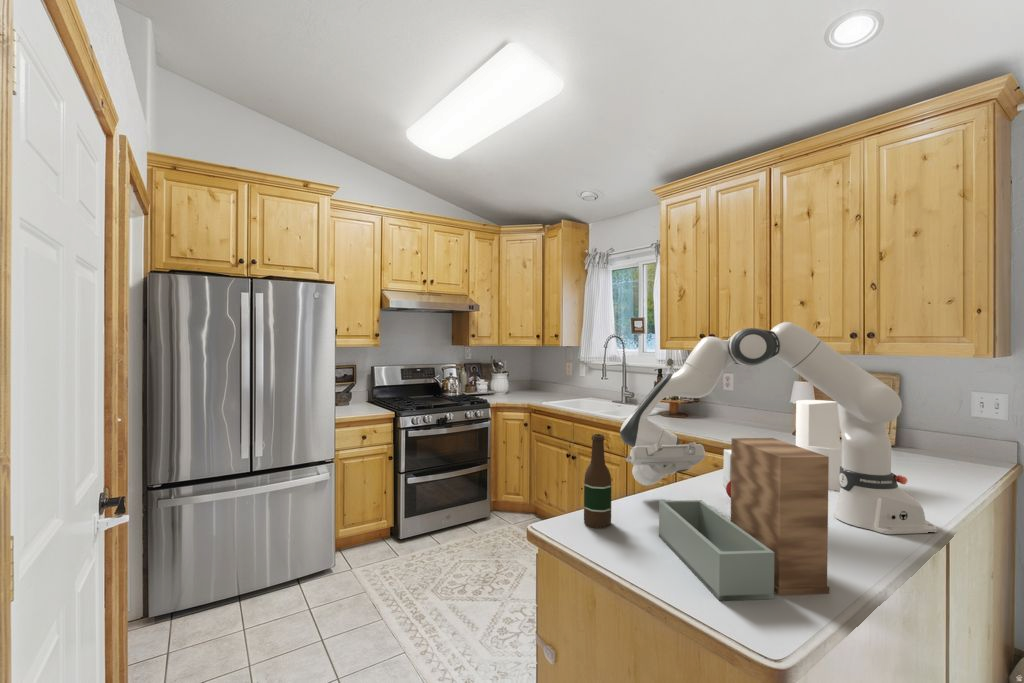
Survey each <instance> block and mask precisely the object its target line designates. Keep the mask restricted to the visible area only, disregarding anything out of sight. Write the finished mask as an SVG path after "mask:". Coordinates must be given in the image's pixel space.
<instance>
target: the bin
mask: <svg viewBox="0 0 1024 683" xmlns="http://www.w3.org/2000/svg"><path fill="white" fill-rule="evenodd" d="M658 503H659V504H658V506H659V507H658V509H659V511H658V517H659V518H658V537H659V538H660V539H661V540H662V541H663V542H664V544H665V545H666V546H667V547H668V546H669V549H670V550H671V551H672V552H673V553H674V554H675V555H676V557H677V558H678V559H679V560H681V562H682V563H683V564H684V565H685V566H686V567H687V568H688V569H689V570H690V571H691V572H692V573H693V575H694V576H695V577H697V579H698V580H699V581H700V582H701V584H703V585H704V587H706V589H707V590H708V591H709V592H710V593H711V594H712V595H713V596H714V597H715V599H716V600H718V601H719V602H726V601H727V602H728V601H751V600H752V601H753V600H755V601H756V600H774V599H775V592H774V552H773V551H772V550H770V549H769V548H767V547H766V546H765V545H763V544H762V543H760V542H759V541H758V540H756V539H755V538H753V537H752V536H751V535H749V534H748V533H746V532H745V531H744V530H742V529H741V528H740V527H738V526H737V525H735V524H734V523H733V522H731V519H728V518H727V517H726V516H724V515H723V514H721V513H720V512H719V511H717V510H716V509H714V508H713V507H712V506H710V505H709V504H707V503H706V502H704V501H703V500H701V499H692V500H691V499H690V500H689V499H687V500H683V499H682V500H681V499H679V500H659V502H658Z"/></svg>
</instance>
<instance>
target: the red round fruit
mask: <svg viewBox="0 0 1024 683" xmlns="http://www.w3.org/2000/svg"><path fill="white" fill-rule="evenodd" d="M725 491H726V495H727V497H729V498H730V499H731V481H730V482H729V483H728V484H727V486H726V488H725Z"/></svg>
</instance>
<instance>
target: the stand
mask: <svg viewBox="0 0 1024 683" xmlns="http://www.w3.org/2000/svg"><path fill="white" fill-rule="evenodd" d="M730 450H731V498H730V521H731V522H733V523H734V524H735V525H737V526H738V527H740V528H741V529H742V530H744V531H745V532H746V533H748V534H749V535H751V536H752V537H753V538H755V539H756V540H758V541H759V542H760V543H762V544H763V545H765V546H766V547H767V548H769V549H770V550H772V551H773V552H774V594H776V595H778V596H795V595H796V596H797V595H800V596H801V595H819V594H820V595H823V594H824V595H825V594H827V595H828V594H830V592H831V590H830V589H831V587H830V586H828V545H829V544H828V541H829V540H828V538H829V536H828V534H829V490H828V474H829V457H828V456H825V455H822V454H819V453H816V452H813V451H810V450H807V449H804V448H801V447H798V446H796V444H792V443H788V442H787V441H783V440H780V439H776V438H774V437H740V438H739V437H738V438H737V437H731V448H730Z"/></svg>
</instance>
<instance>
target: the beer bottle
mask: <svg viewBox="0 0 1024 683" xmlns="http://www.w3.org/2000/svg"><path fill="white" fill-rule="evenodd" d="M604 441H605V435H604V434H600V433H595V434H592V435H591V442H592V444H591V458H590V464H589V465H588V466H587V468H586V470H585V472H584V473H585V474H584V479H583V480H584V481H583V482H584V483H583V484H584V485H583V487H584V488H583V524H584V525H585V526H587V527H589V528H591V529H601V530H603V529H605V528H609V527H611V525H612V477H611V473H610V472H611V471H610V469H609V468H608V466H607V465H606V461H605V460H606V459H605V442H604Z"/></svg>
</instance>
